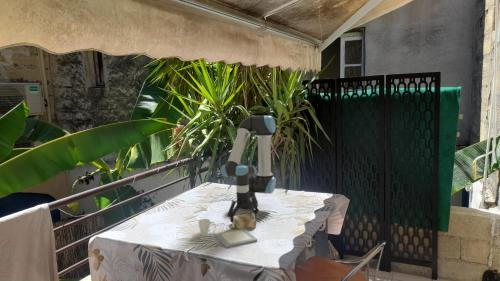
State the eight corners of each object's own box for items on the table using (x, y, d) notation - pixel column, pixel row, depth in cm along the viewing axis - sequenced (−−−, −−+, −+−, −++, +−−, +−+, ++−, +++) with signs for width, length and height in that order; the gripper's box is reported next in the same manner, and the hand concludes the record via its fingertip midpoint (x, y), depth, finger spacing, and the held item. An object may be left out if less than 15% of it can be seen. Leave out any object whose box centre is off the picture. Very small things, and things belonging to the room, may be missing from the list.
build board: (243, 230, 207) (243, 228, 207) (257, 241, 191) (257, 239, 191) (215, 236, 200) (215, 233, 200) (226, 248, 184) (226, 245, 183)
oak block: (248, 221, 223) (248, 213, 222) (255, 228, 211) (255, 220, 210) (232, 223, 219) (231, 216, 219) (238, 231, 207) (238, 223, 206)
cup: (199, 232, 206) (198, 218, 205) (216, 231, 207) (215, 218, 206) (197, 236, 199) (197, 223, 198) (215, 236, 200) (214, 222, 199)
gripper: (258, 187, 221) (259, 219, 223) (221, 192, 210) (222, 226, 213) (263, 189, 214) (264, 223, 216) (225, 195, 203) (226, 231, 206)
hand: (243, 225), depth 215 cm, fingers open, 13 cm apart
